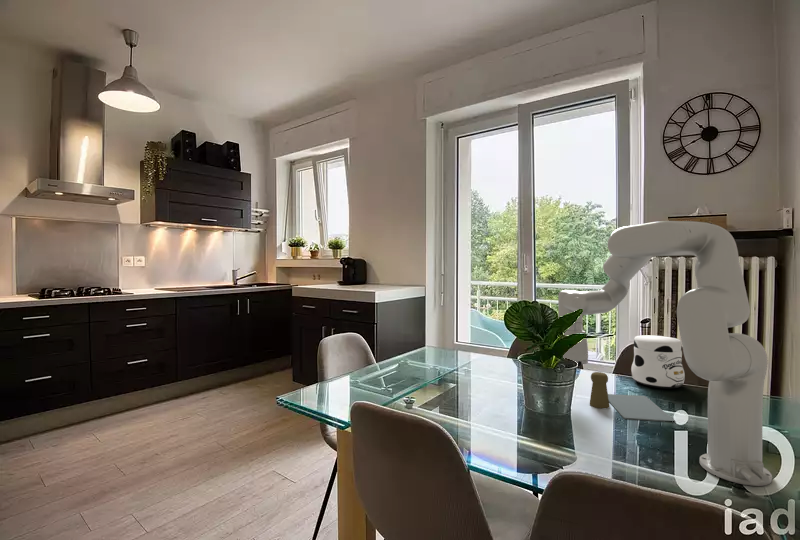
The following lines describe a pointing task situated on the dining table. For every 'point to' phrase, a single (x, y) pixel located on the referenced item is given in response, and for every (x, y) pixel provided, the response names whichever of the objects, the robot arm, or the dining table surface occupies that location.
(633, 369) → the milk container
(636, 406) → the mat
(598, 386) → the cork
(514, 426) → the dining table surface
